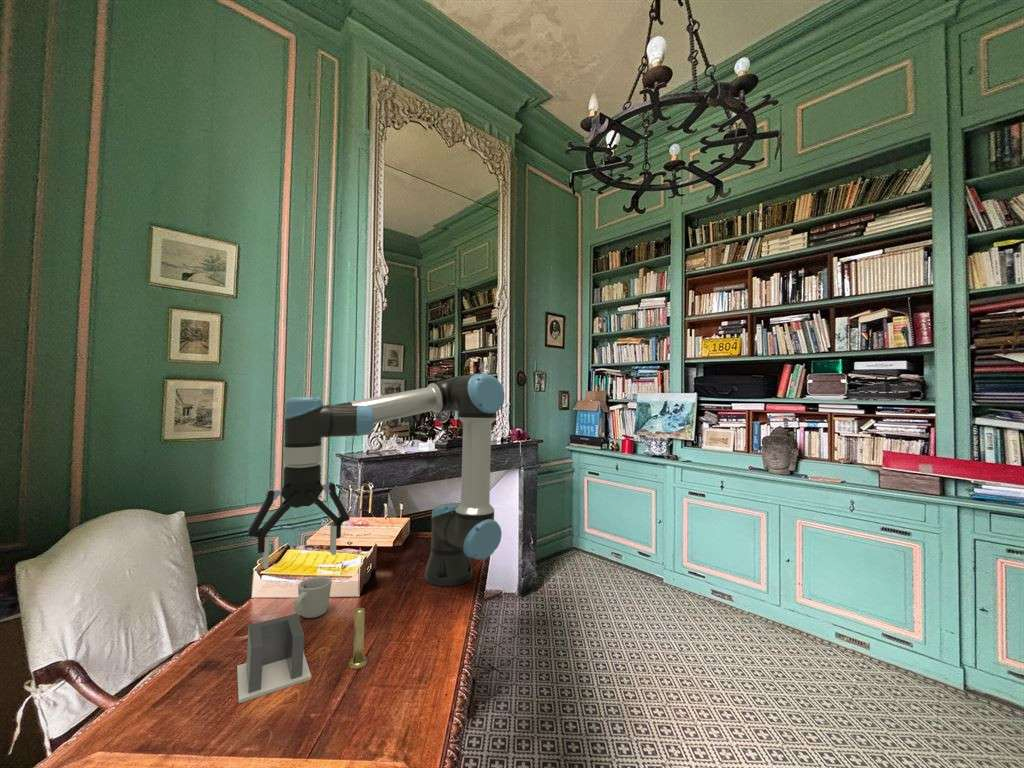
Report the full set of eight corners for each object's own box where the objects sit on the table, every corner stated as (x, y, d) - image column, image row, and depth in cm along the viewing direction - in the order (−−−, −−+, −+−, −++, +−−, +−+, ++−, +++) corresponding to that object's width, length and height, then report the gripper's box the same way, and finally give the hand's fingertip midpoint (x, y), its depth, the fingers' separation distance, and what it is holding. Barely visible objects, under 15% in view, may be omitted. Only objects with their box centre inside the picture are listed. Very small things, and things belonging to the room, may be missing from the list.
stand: (364, 656, 89) (366, 604, 90) (369, 665, 86) (370, 611, 87) (346, 662, 87) (349, 608, 87) (351, 671, 84) (353, 616, 85)
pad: (301, 649, 91) (302, 646, 91) (311, 679, 81) (311, 676, 81) (237, 668, 84) (237, 665, 84) (238, 703, 74) (238, 700, 74)
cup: (309, 629, 99) (310, 595, 100) (281, 625, 101) (282, 591, 102) (336, 608, 110) (338, 577, 111) (310, 604, 112) (312, 574, 112)
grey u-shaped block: (295, 651, 89) (296, 613, 90) (302, 675, 81) (304, 634, 82) (246, 665, 84) (248, 625, 85) (248, 693, 76) (250, 648, 77)
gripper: (354, 458, 103) (353, 543, 102) (236, 467, 89) (233, 567, 88) (363, 461, 97) (362, 552, 96) (237, 472, 83) (234, 579, 82)
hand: (300, 559), depth 92 cm, fingers open, 13 cm apart
